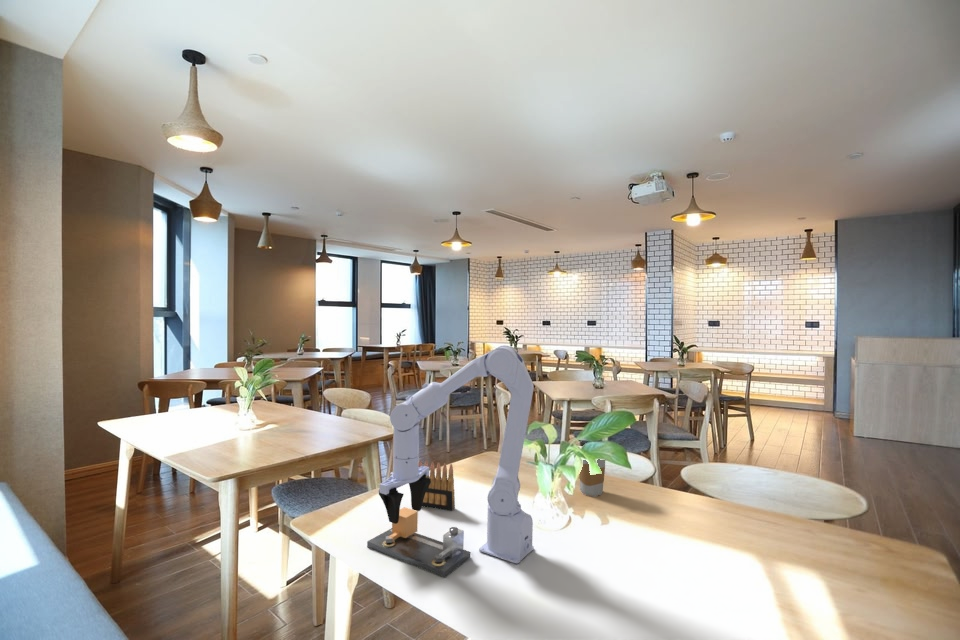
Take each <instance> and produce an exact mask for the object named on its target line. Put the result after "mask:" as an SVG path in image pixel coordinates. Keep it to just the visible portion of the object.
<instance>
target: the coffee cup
mask: <svg viewBox="0 0 960 640" xmlns="http://www.w3.org/2000/svg"><path fill="white" fill-rule="evenodd" d="M587 442H588V441H582V442H581V446H583V445H584V444H585V443H587ZM597 463H598V466H599V467H600V469H601V471H602V474H596V475H590V473H589V472H590V471H589V464H588V462H587V461H586V460H583V467H582V470H581V472H580V474H579V473H578V479H579V490H580V492H582V493H583V494H582V493H581V494H582V495H584V494H586V495H585V496H587V495H591V496H590V497H599V496H598V495H600V496H602V493H603V490H604V483H605V482H604V481H605V473H606V459H605V460H600V459H598V460H597Z"/></svg>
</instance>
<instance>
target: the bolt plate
mask: <svg viewBox="0 0 960 640" xmlns="http://www.w3.org/2000/svg"><path fill="white" fill-rule="evenodd" d="M464 532H465V531H464V530H463V529H460V528H459V527H456V526H452V527H449V531H448V532H446V533H444V534H443V535H442V541H440V540H438V539H435V538H431V537H429V536H426V535H423V534H420V533H417V532H415V533H413V534H412V535H410V536H408V537H407V538H403V537H401V536H400V537H398V538H397V539H395V540H393V542H392V543H386V536H390V535H392V527H391V528H389V529H388V530H385V531H384V532H382V533H379V535H377V536H374V537H373V538H370V539H369V540H368V541H367V543H366V544H367V545H366V547H367V548H369V549H371V548H372V550H373V551H376V552H379V553H382V554H384V555H387V556H389V557H391V558H395V559H396V558H397V560H398V561H401V560H402V561H401V562H404V563H406V562H407V563H406V564H409V565H411V566H414V567H416V568H419V569H422V570H424V571H426V572H429V573H431V574H434V575H437V576H438V577H442V578H444V579H445V578H446V577H447V576H449V575H450V574H451V573H453V572H454V571H455V570H457V569H458V568H459V567H461V566H462V565H464V563H466V562H467V561H469V559H471V551H469V550H466V549H464V545H465V544H464V538H465V533H464Z"/></svg>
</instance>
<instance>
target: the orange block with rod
mask: <svg viewBox="0 0 960 640" xmlns="http://www.w3.org/2000/svg"><path fill="white" fill-rule="evenodd" d="M418 512H419V511H416V510H413V509H412V508H408V507H402V508H400V511H399V521H398V523H396V524H395V523H392V522H391V528H392V535H390V536H386V543H392V542H393V540H395V539H397V538H398V537H400V536H401V537H403V538H407V537H408V536H410V535H412V534H413V533H417V532H418V524H419V523H418V521H419V520H418V519H419V518H418V515H419V513H418Z"/></svg>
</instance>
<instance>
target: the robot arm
mask: <svg viewBox="0 0 960 640" xmlns="http://www.w3.org/2000/svg"><path fill="white" fill-rule="evenodd" d="M490 375H491V376H493V377H494V378H496V379H497V380H499V381H500V382H502V384H503V385H504V386H505V387H506V388H507V390H508V392H510V395H511V396H510V400H509V406H508V410H507V416H506V417H507V418H506V421H505V422H506V423H505V428H504V434H503V438H502V439H503V440H502V444H501V450H500V456H499V462H498V466H497V469H496V470H497V471H496V475H495V476H494V478H493V479H492V483H491V484H492V485H491V488H490V490H489V491H488V494H487V503H488V504H487V522H486V523H487V524H486V525H487V529H486V531H487V532H486V534H487V535H486V542H485V543H484V544H482V546H480V547H479V548H478V550H479V552H481V553H484V554H487V555H490V556H493V557H496V558H499V559H501V560H504V561H507V562H510V563H512V564H519V563H520V562H522V560H523V559H524V558H525V557H526V556H527V555H528V554H529V553H531V552H532V551H533V550H534V547H535V546H534V545H533V531H534V529H533V525H534V524H533V523H534V522H533V517H532V516H531V514H529V513H527V512H525V511H524V510H523V509H522V505H521V503H520V501H519V500H518V499H519V492H520V490H521V483H520V478H519V471H520V466H521V459H522V455H523V450H524V449H523V448H524V444H525V437H526V432H527V428H528V421H529V416H530V409H531V405H532V400H533V396H534V395H533V394H534V386H535V385H534V382H533V380H532V378H531V376H530V373H529V371H528V368H527V367H526V363H525V361H524V358H523V357H522V356H521V354H519V353H518V351H517V350H516V349H515V348H514V347H512V346H509V345H500V346H498V347H496V348H495V349H492V350H490V351H488V352H487V353H484V354H482V355H480V356H477V357H476V358H474V359H472V360H471V361H469V362H468V363H466V364H465V365H464V366H463V367H461V368H460V369H459V370H457V371H456V372H454V373H453V374H452V375H450V376H449V377H448V378H446V379H444V381H442V382H437V381H431V382H430V383H429V382H425V383H423V385H421V388H422V389H419V391H417V392H415V393H414V394H412V395H408V396H406V397H405V401H403V402H401V403H399V404H396V405H395V407H394V408H393V409H392V410H391V412H390V415H389V421H390V424H391V426H392V427H393V438H392V444H393V445H392V447H393V448H392V471H391V472H390V473H389V477H388V478H387V479H385V480H384V481H383V482H381V483H379V489H378V495H379V497H380V499H381V500H382V502H383V504H384V507H385V511H386V514H387V519H388V521H389V523H391V524H392V523H395V524H396V523H398V521H399V511H400V509H401V504H402V500H403V497H404V493H402V492H399V491H398V488H400V487H403V486H405V485H407V484H408V486H409V490H410V503H411V509H412V510H415V511H418V512H421V510H422V508H423V507H422V503H423V499H424V496H425V493H426V491H427V488H428V487H429V485H430V483H431V479H430V478H427V477H426V476H429V477H430V466H428V467H426V466H425V465H422V466H421V467H419V461H420V458H419V457H420V449H419V448H420V446H419V445H420V435H419V432H420V428H419V427H420V425H419V423H420V422H421V420H423V419H426V418H427V417H429V416H430V415H432V414H433V413H434V412H436V411H438V410H439V409H441V407H444V406H445V405H446V404H447V403H448V400H449V395H450V394H451V393H453V392H455V391H456V390H458V389H460V388H461V387H462V386H464V385H466V384H467V383H469V382H470V381H472V380H473V379H475V378H477V377H479V378H480V377H484V378H485V377H488V376H490Z"/></svg>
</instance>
